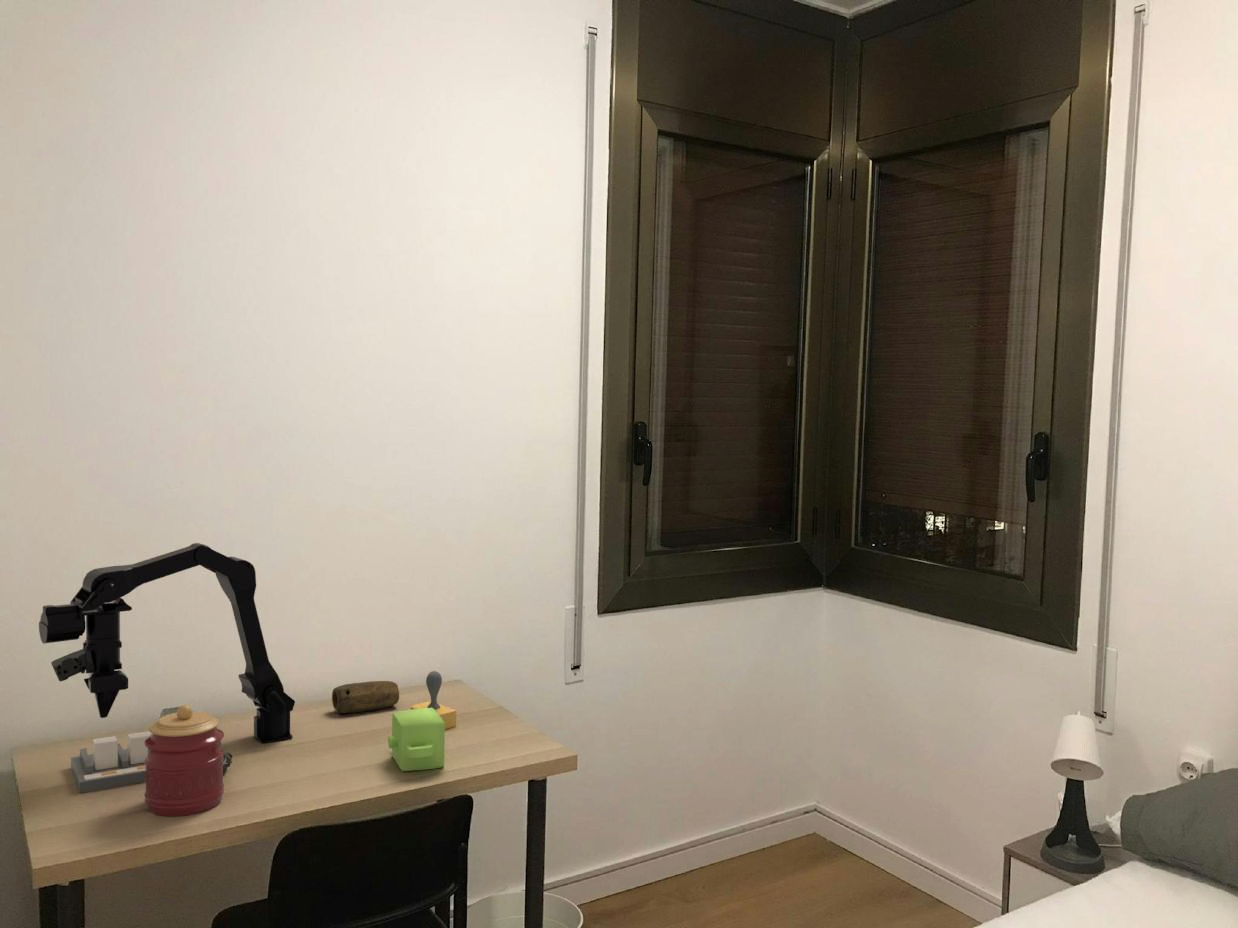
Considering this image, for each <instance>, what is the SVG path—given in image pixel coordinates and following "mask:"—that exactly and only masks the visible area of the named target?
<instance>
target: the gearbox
mask: <svg viewBox="0 0 1238 928" xmlns="http://www.w3.org/2000/svg"><path fill="white" fill-rule="evenodd" d="M391 715H392V716H391V717H392V719H391V720H392V721H391V723H392V724H391V730H392V731H391V734H389V735H388V737H387V743H388V748H389V750H391V755H392V757H393V758H394V760H395V762H396V764H397V766H398V767H399V769H400V770H401V771H402V772H409V771H423V770H432V769H439V768H444V767H445V740H446V739H445V738H446V737H445V736H446V735H445V733H446V732H445V731H446V729H445V723H444V721H443V720H442V718H441V717H440V715H439V714H438V713H437V712H436V711H435V710H434V709H433V708H421V709H412V710H411V709H406V710H405V709H404V710H400V711H393V712H392V713H391Z"/></svg>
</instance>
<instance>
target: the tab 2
mask: <svg viewBox="0 0 1238 928" xmlns="http://www.w3.org/2000/svg"><path fill="white" fill-rule="evenodd" d="M151 734H152V733H151V732H150V730H147V731H141V732H140V731H139V732H136V733H129V734H128V735H127V749H128V760H129V762H130V764H131V765H132V764H138V763H144V762H145V758H146V757H147V754H148V748H147V747H146V746H145V744H144V741H145V739H146V738H147V737H148V736H150V735H151Z"/></svg>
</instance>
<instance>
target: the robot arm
mask: <svg viewBox="0 0 1238 928" xmlns="http://www.w3.org/2000/svg"><path fill="white" fill-rule="evenodd" d="M198 566H201V567H203V568H204V569H206V570H209V571H210V572H212V573H214V574H215V576H216V579H217V581H218V583H219V585H220V588H221V590H222V591H223V592H224V594H225V596H226V597H227V598H228V600H229V602H230V604H231V607H232V613H233V616H234V620H235V624H236V629H237V633H238V636H239V641H240V644H241V650H242V652H243V656H244V661H245V670H244V673H240V674H238V679H239V680H240V681H239V682H240V683H241V692H242V693H243V694H245V695H246V697H247V698H248V699H250V700H251V701H252V703H253V705H254V706H255V707H257V708H256V715H254V716H253V736H255V738H256V739H257V740H258V741H259V742H260V743H261V744H265V743H272V742H278V741H284V740H289V739H293V734H292V733H291V712H293V709H294V707H295V703H296V701H295V700H294V699H293V698H292V697H291V696H289V695H288V694H287V693H286V692H285V689H284V684H283V683H282V681H281V678H280V676H279V675H278V673H277V671H276V669H275V668H274V667H273V665H272V663H271V662H270V660H269V656H268V651H267V648H266V644H265V639H264V635H263V631H262V627H261V623H260V617H259V615H258V611H257V605H256V602H255V593H256V589H257V576H256V573H257V572H256V568H255V566H254V564H253V563H251V562H250V561H247V560H245V559H242V558H239V557H235V556H227V555H225V554H223V553H220V552H218V551H216V550H214V549H212V548H211V546H209V545H206V544H202V543H199V542H195V543H192V544H190V545H189V546H186V547H182V548H180V549H176V550H173V551H170V552H166V553H164V554H161V555H158V556H155V557H151V558H148V559H144V560H141V561H139V562H135V563H131V564H123V565H113V566H104V567H98V568H94V569H91V570H89V571H88V572H87V573H85V574H86V575H85V576H84V578H83V581H82V586H81V587H80V588H79V590H78V591H77V592H76V594H75V595H74V597H73V598H72V599H71V601H70V602H69V603H68V604H58V605H53V604H52V605H51V604H48V605H44V606H42V613H41V615H40V619H39V622H38V634H39V637H40V640H41V643H42V644H44V645H45V644H51V643H59V642H68V641H75V640H79V639H80V636H81V637H83V634H84V633H85V635H86V637H85V640H84V642H82V649H79V650H76V651H72V652H71V653H68V654H65V655H64V656H61V657H58V658H57V659H54V660H53V661H51V662H50V663H51V666H52V668H53V670H54V674H55V675H56V677H57V680H58V681H59V682H64V681H66V680H68V679H69V678H71V677H73V676H75V675H77V674H85V673H86V674H88V677H86V678H84V679H83V681H84V683H85V686H86V687H87V689H88V690H89V692H90V694H94V696H95V702H96V705H97V706H96V707H97V710H98V714H99V717H100V719H103V718H107V717H108V716H109V713H110V712H111V709H112V707H113V705H114V702H115V700H116V698H117V697H118V694H119V692H120V691H123V690H128V689H129V677H128V675H126V673H125V672H123V671H122V669H123V663H122V662H121V649H122V648H123V647H122V645H123V644H122V643H123V642H122V641H121V612H130V611H132V609H133V607H132V606H130V605H129V604H127V602H126V601H125V600H124V598H122V597H125V596H126V595H128V594H130V593H131V592H133V591H134V590H135V589H137V588H138V587H140V586H142V585H144V584H147V583H149V582H153V581H156V580H158V579H161V578H165V577H167V576H170V575H174V574H177V573H180V572H183V571H186V570H189V569H191V568H196V567H198Z"/></svg>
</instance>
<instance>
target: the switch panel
mask: <svg viewBox="0 0 1238 928" xmlns="http://www.w3.org/2000/svg"><path fill="white" fill-rule="evenodd" d="M70 769H71V772H72V775H73V777H74V780H75V784H76V787H77V790H78V793H79V794H83V793H84V794H85V793H90V792H97V791H101V790H106V789H113V788H118V787H119V788H120V787H125V786H130V785H136V784H143V783H146V764H145V762H144V763H138V764H132V765H131V764H130V762H129V760H128V748H126V749H125V748H124V749H123V747H122V745H121V743H118V767H113V768H107V769H101V770H95V769H94V766H93V753H92V754H89V753H88V751H87V748H82V749H81V748H80V749H79V756H72V757H70Z"/></svg>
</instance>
